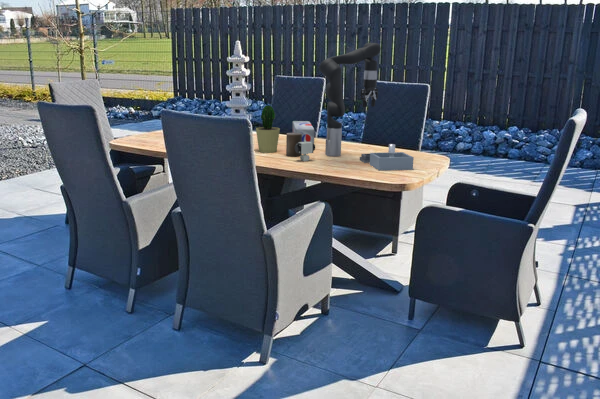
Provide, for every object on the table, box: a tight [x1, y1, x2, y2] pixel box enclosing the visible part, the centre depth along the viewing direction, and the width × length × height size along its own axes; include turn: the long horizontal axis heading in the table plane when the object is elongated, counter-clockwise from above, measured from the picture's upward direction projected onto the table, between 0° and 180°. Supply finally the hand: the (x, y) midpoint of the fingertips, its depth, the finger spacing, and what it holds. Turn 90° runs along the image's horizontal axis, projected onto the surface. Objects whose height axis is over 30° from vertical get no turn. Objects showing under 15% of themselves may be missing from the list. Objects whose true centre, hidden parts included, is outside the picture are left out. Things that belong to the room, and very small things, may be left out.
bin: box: [369, 151, 414, 171], centre depth 322 cm, size 20×16×7 cm
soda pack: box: [292, 120, 315, 144], centre depth 395 cm, size 41×13×14 cm, turn 4°
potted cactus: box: [255, 104, 281, 154], centre depth 361 cm, size 15×15×30 cm
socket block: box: [359, 153, 370, 164], centre depth 338 cm, size 9×9×4 cm
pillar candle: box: [285, 132, 303, 158], centre depth 351 cm, size 10×10×15 cm
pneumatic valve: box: [295, 141, 316, 162], centre depth 336 cm, size 6×12×12 cm, turn 119°
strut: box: [387, 143, 396, 157], centre depth 321 cm, size 5×5×12 cm
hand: (368, 106), depth 332 cm, fingers open, 8 cm apart
